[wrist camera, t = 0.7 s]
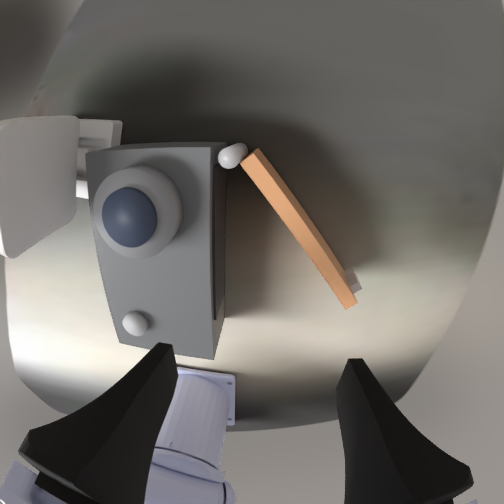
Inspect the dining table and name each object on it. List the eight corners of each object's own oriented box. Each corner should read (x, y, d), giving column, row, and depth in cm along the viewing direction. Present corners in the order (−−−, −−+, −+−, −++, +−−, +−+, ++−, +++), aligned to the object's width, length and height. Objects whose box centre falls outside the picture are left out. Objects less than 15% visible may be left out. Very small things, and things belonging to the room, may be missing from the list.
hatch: (228, 149, 16) (213, 156, 12) (256, 128, 15) (250, 128, 12) (326, 282, 19) (335, 317, 16) (352, 266, 19) (367, 299, 15)
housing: (226, 318, 22) (210, 380, 16) (142, 307, 22) (109, 359, 16) (229, 142, 16) (204, 151, 10) (124, 144, 16) (64, 158, 11)
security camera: (53, 113, 15) (-51, 132, 6) (124, 114, 15) (6, 124, 6) (49, 190, 18) (-43, 238, 9) (115, 203, 18) (17, 269, 9)
